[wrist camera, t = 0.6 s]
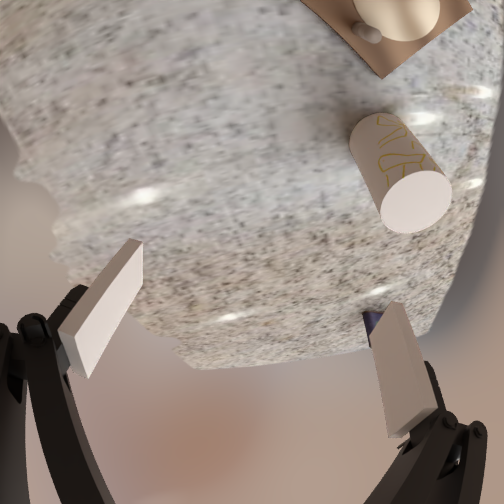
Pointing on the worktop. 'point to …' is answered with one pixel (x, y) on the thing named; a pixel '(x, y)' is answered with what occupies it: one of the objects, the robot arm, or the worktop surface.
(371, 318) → the flask
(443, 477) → the robot arm
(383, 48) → the tray
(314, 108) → the worktop surface
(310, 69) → the worktop surface
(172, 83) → the worktop surface
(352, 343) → the worktop surface
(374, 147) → the cup
